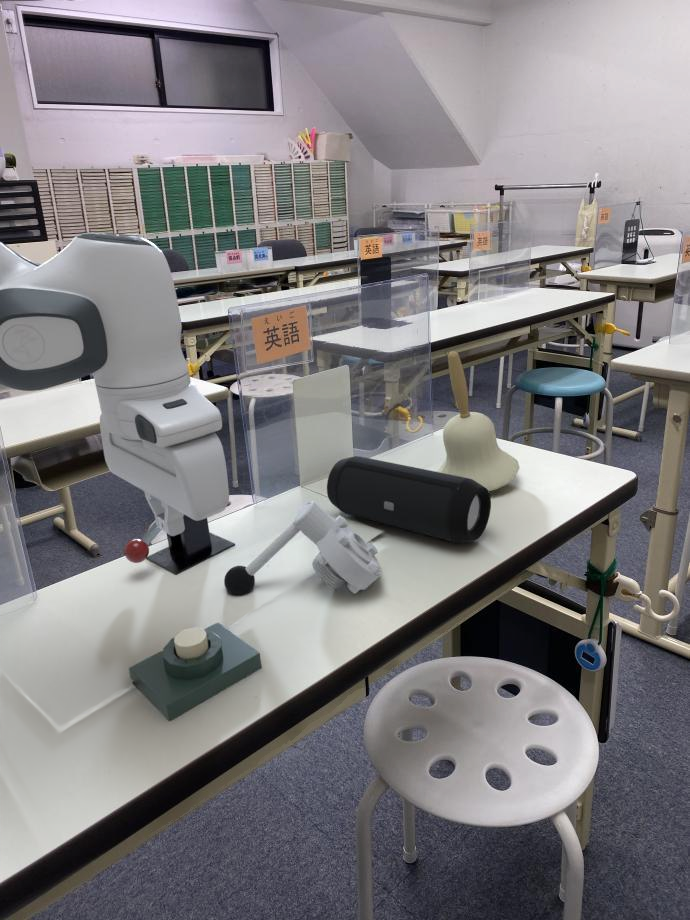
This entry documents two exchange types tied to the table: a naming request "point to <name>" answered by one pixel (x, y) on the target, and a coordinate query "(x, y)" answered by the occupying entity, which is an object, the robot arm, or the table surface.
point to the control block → (194, 672)
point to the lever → (141, 545)
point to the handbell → (473, 440)
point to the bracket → (189, 547)
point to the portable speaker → (410, 498)
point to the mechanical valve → (335, 562)
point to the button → (191, 643)
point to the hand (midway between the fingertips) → (171, 530)
